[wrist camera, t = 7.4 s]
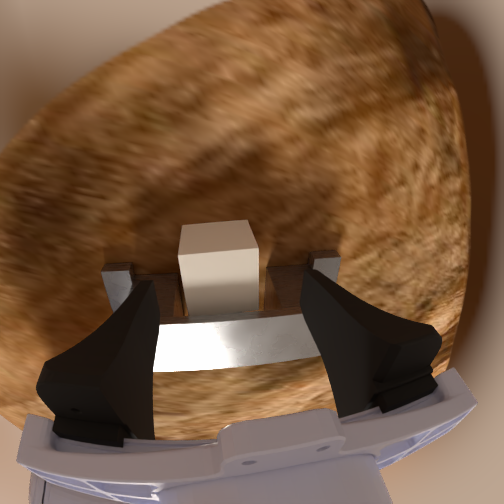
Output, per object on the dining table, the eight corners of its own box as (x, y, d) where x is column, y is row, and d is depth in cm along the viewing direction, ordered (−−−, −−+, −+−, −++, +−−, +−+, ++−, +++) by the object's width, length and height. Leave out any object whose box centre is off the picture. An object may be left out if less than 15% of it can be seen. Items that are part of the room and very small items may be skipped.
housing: (322, 314, 22) (345, 358, 18) (124, 329, 20) (113, 379, 16) (335, 250, 19) (369, 291, 15) (104, 263, 17) (81, 312, 13)
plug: (249, 322, 21) (258, 359, 18) (198, 327, 21) (199, 365, 18) (247, 219, 17) (258, 248, 14) (182, 225, 17) (177, 255, 13)
